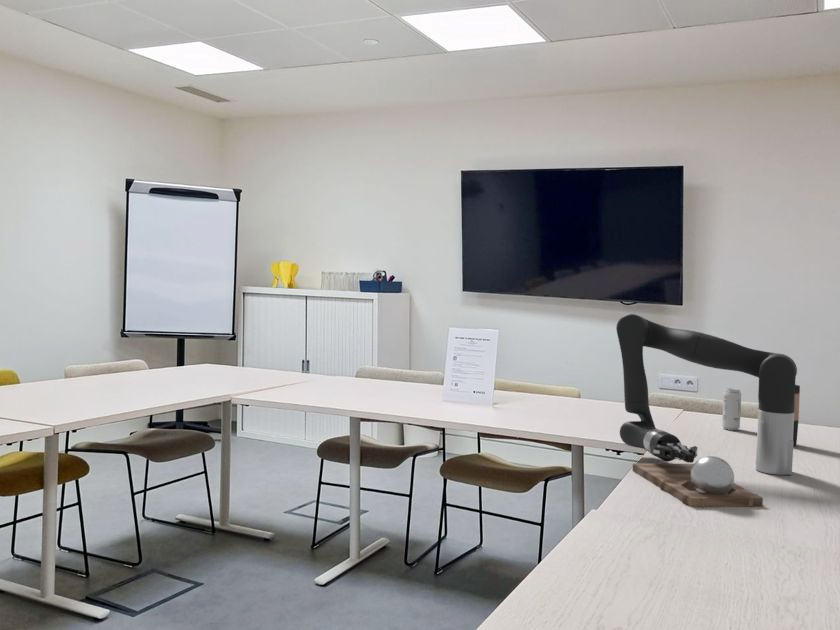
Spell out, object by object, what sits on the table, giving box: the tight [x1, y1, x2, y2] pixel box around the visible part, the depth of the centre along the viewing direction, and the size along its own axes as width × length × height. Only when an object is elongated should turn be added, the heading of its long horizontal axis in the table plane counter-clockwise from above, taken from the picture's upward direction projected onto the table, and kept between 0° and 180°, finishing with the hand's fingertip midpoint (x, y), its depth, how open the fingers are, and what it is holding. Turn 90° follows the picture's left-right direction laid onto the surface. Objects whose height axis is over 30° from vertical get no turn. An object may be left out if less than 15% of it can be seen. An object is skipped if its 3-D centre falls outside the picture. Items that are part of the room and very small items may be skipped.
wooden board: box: [632, 463, 764, 508], centre depth 197 cm, size 34×19×2 cm, turn 7°
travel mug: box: [793, 384, 801, 447], centre depth 256 cm, size 8×8×20 cm
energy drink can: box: [721, 387, 742, 431], centre depth 282 cm, size 6×6×15 cm
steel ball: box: [690, 455, 735, 494], centre depth 187 cm, size 10×10×10 cm
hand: (690, 458), depth 198 cm, fingers closed
